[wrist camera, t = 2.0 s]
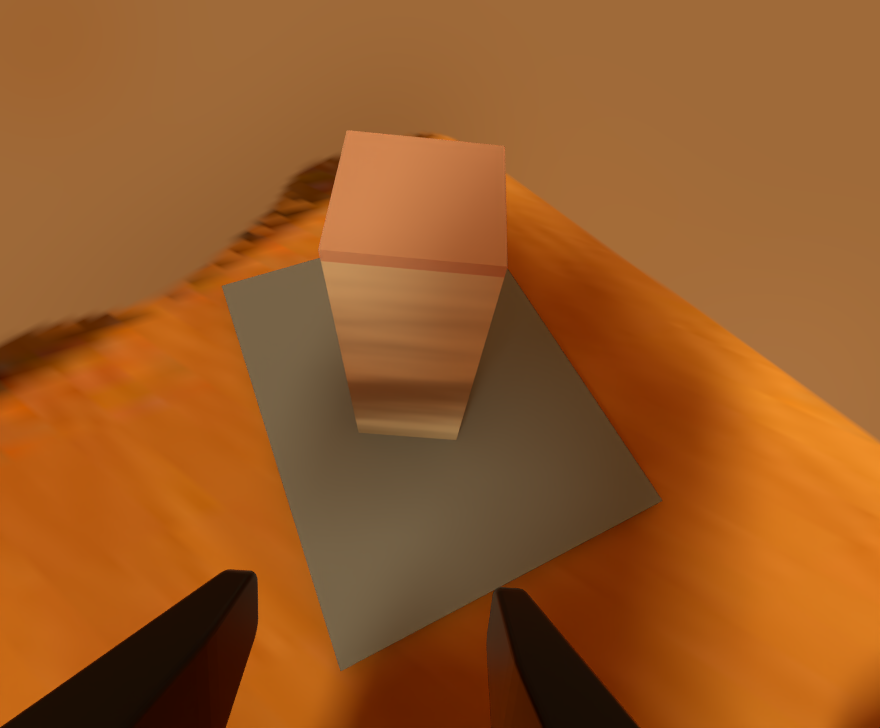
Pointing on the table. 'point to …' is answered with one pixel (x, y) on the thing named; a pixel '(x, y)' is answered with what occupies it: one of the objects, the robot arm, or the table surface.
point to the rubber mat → (427, 465)
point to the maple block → (414, 275)
